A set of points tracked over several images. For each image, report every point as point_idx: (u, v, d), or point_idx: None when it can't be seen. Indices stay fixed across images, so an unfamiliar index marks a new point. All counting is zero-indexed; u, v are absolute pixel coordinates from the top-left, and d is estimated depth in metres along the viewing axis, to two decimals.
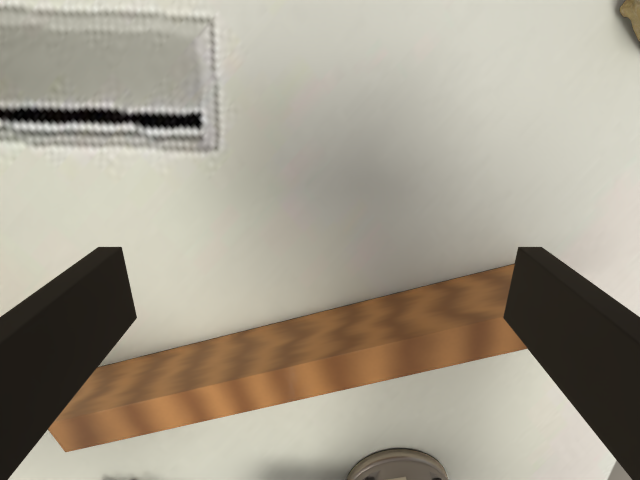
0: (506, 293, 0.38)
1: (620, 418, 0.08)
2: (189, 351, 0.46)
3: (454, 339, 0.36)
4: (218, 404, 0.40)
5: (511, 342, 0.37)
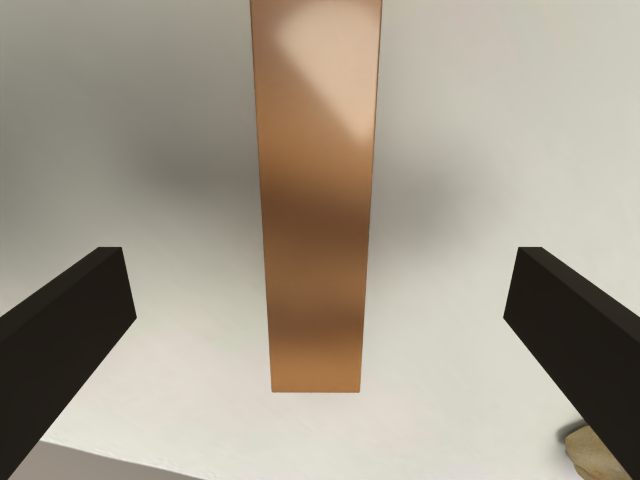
0: None
1: (620, 418, 0.08)
2: None
3: (339, 161, 0.14)
4: None
5: (293, 283, 0.16)
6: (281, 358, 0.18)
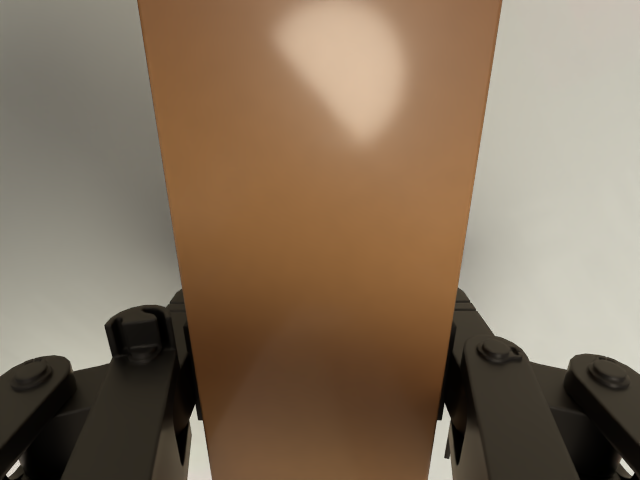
0: None
1: None
2: None
3: (378, 265, 0.06)
4: None
5: None
6: None
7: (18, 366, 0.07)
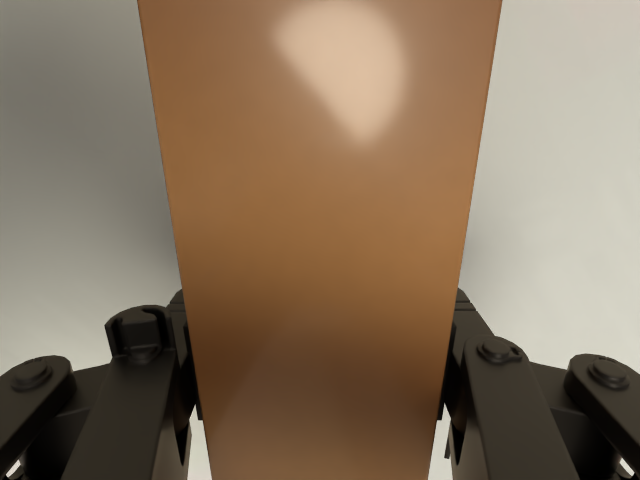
0: None
1: None
2: None
3: (378, 264, 0.06)
4: None
5: None
6: None
7: (18, 366, 0.07)
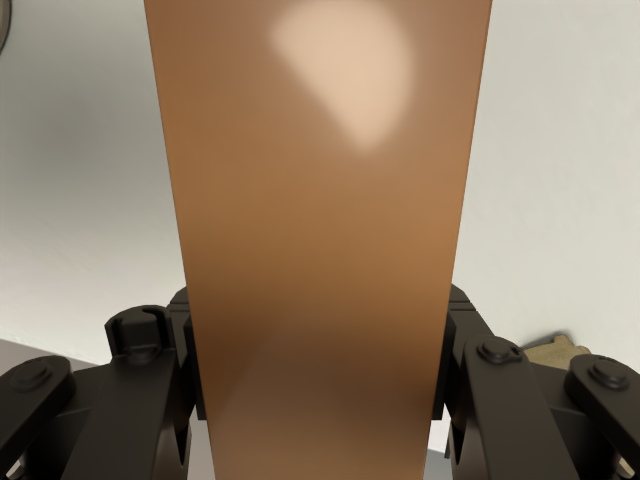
0: None
1: None
2: None
3: (374, 261, 0.06)
4: None
5: None
6: None
7: (18, 366, 0.07)
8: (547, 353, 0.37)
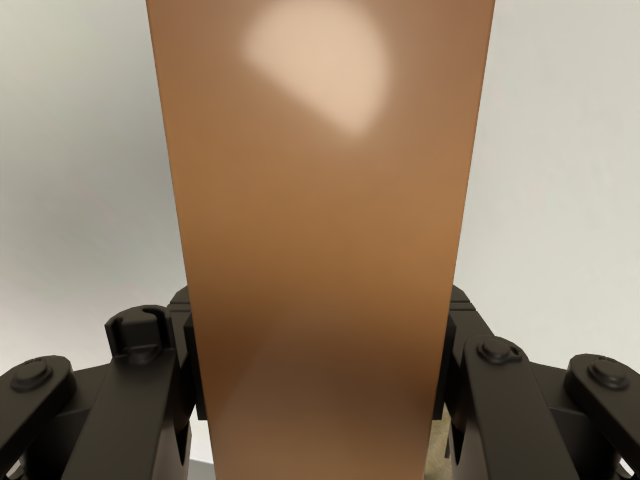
0: None
1: None
2: None
3: (376, 262, 0.06)
4: None
5: None
6: None
7: (18, 366, 0.07)
8: None
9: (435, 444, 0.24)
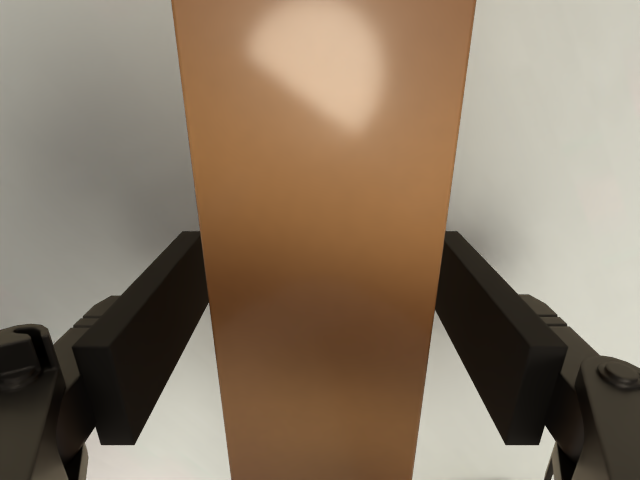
0: None
1: (487, 371, 0.09)
2: None
3: (373, 212, 0.07)
4: None
5: (278, 435, 0.09)
6: None
7: None
8: None
9: None
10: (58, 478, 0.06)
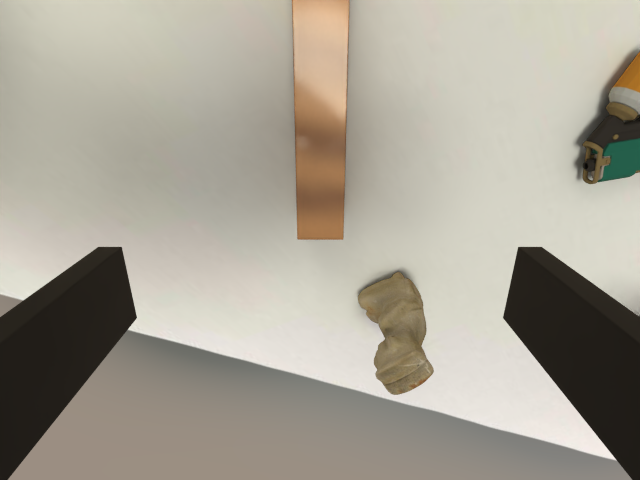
0: None
1: (620, 418, 0.08)
2: None
3: (331, 114, 0.32)
4: None
5: (309, 175, 0.34)
6: (302, 218, 0.35)
7: None
8: (381, 285, 0.45)
9: (393, 311, 0.39)
10: None
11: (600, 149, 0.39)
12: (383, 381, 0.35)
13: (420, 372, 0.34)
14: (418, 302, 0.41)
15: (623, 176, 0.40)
